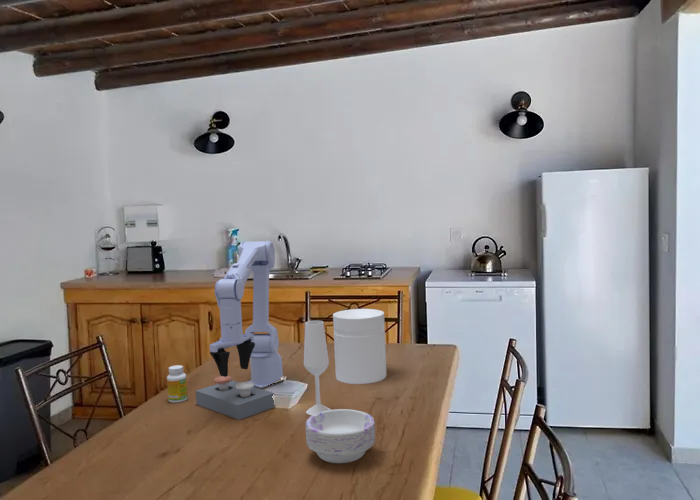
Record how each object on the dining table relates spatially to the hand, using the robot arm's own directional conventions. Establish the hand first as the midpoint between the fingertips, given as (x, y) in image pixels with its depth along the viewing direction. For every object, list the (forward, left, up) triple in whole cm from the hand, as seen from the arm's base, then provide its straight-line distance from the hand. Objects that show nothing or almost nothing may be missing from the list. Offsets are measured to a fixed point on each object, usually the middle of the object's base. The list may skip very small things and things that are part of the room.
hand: (234, 372), depth 167 cm
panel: (-1, -3, -10) cm, 11 cm away
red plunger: (-1, -8, -7) cm, 11 cm away
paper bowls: (+4, +43, -11) cm, 45 cm away
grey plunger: (-1, +2, -7) cm, 8 cm away
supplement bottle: (+6, -21, -11) cm, 24 cm away
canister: (-42, +7, -11) cm, 44 cm away
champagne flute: (-12, +19, -11) cm, 25 cm away
